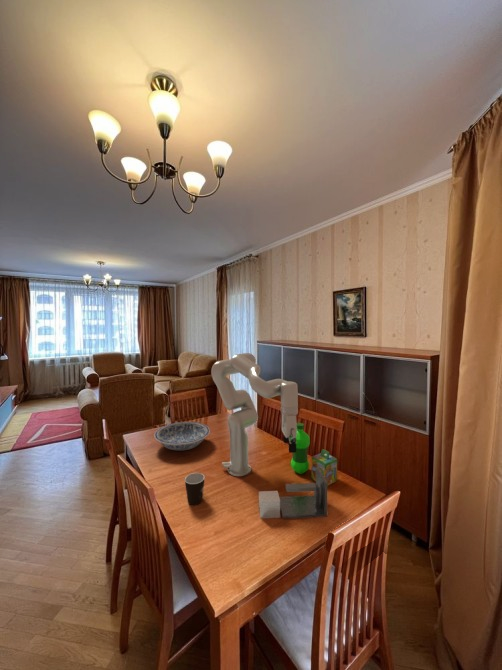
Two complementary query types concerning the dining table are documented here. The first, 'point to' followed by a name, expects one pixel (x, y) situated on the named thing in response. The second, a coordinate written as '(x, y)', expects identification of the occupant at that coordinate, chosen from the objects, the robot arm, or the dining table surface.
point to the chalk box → (325, 466)
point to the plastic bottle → (300, 451)
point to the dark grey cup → (194, 488)
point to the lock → (269, 504)
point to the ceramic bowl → (182, 435)
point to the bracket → (306, 499)
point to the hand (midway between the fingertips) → (289, 447)
